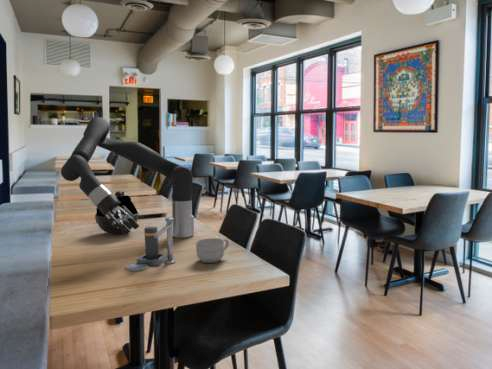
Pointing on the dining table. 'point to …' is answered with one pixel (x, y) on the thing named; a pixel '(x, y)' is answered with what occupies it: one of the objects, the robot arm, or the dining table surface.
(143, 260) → the socket
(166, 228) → the gray square bar
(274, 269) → the dining table surface
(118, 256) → the dining table surface
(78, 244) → the dining table surface
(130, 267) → the mat
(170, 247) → the post
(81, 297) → the dining table surface
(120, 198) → the bowl of black rocks
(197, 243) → the teacup
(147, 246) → the plug
